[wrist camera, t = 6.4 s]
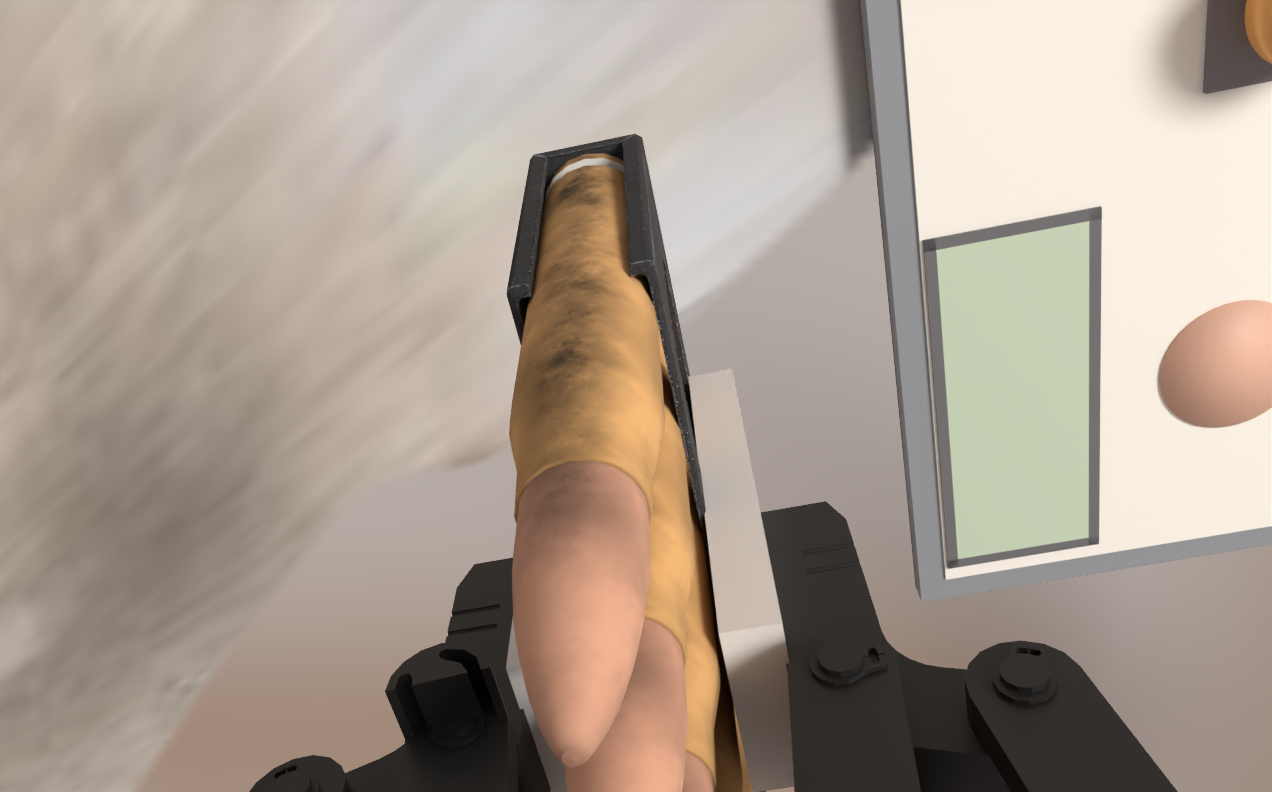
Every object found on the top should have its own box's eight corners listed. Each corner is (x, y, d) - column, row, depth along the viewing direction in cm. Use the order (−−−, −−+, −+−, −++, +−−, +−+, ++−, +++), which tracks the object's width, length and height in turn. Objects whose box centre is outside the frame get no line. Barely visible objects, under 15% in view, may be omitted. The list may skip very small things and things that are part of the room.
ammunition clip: (741, 634, 22) (856, 1372, 12) (654, 649, 22) (690, 1390, 12) (640, 131, 17) (684, 630, 7) (528, 154, 17) (397, 678, 7)
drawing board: (915, 586, 44) (923, 606, 43) (853, -64, 32) (862, -60, 31) (1320, 519, 42) (1339, 538, 41) (1410, -185, 31) (1440, -184, 30)
